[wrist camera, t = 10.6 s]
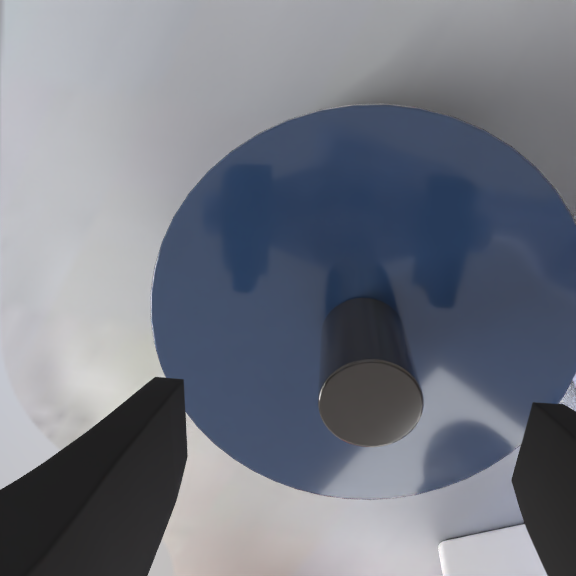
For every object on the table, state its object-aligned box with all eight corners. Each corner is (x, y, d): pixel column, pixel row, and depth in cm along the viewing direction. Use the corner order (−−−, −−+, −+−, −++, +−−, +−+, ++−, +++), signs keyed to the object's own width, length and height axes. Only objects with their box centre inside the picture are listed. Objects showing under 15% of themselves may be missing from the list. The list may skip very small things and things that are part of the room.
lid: (625, 402, 16) (729, 517, 12) (277, 517, 19) (262, 642, 15) (489, 5, 12) (571, -32, 8) (82, 229, 15) (-13, 287, 11)
